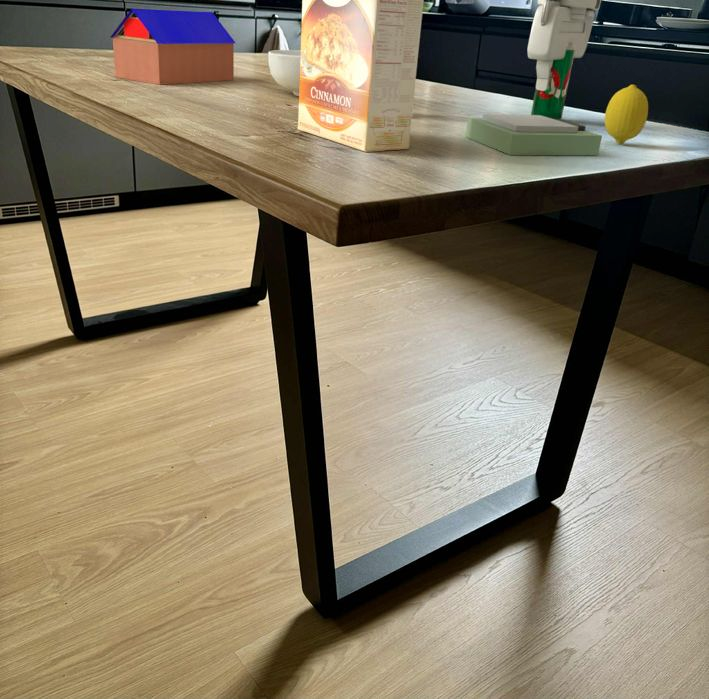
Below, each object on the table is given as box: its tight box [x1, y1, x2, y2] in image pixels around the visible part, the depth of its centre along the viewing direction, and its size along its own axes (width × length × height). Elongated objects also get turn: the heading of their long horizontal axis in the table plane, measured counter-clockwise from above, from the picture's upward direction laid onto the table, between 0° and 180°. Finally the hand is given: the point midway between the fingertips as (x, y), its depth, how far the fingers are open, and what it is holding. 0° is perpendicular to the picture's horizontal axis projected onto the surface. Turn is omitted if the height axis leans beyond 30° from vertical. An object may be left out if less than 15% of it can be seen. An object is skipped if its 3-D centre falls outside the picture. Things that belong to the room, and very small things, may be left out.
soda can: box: [530, 43, 575, 119], centre depth 117 cm, size 5×5×12 cm
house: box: [110, 8, 236, 86], centre depth 133 cm, size 12×20×12 cm, turn 147°
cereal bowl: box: [267, 49, 301, 97], centre depth 125 cm, size 17×17×7 cm
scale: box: [465, 113, 603, 156], centre depth 94 cm, size 13×12×3 cm
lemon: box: [604, 84, 649, 145], centre depth 100 cm, size 6×6×8 cm
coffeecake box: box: [297, 0, 425, 153], centre depth 85 cm, size 15×7×20 cm, turn 36°
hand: (550, 88), depth 117 cm, fingers open, 8 cm apart
